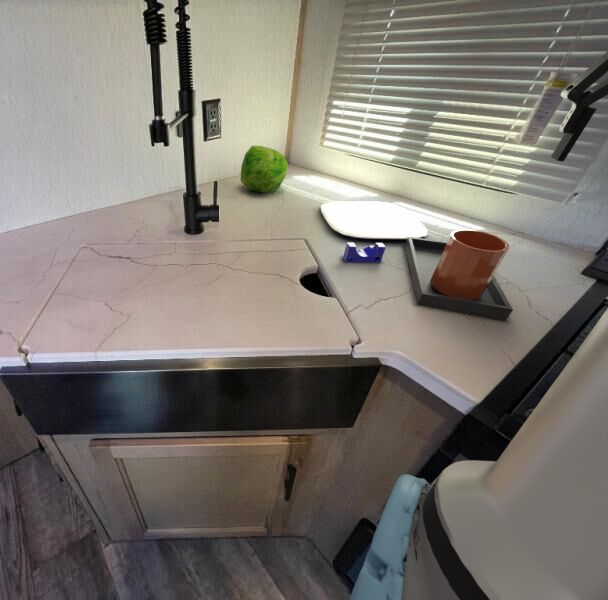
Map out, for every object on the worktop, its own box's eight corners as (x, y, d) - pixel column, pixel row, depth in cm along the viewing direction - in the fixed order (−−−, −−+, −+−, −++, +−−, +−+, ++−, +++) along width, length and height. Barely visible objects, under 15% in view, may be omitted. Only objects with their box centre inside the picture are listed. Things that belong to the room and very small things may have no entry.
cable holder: (374, 255, 83) (379, 239, 81) (380, 262, 80) (385, 247, 78) (341, 254, 83) (345, 239, 81) (345, 262, 80) (349, 246, 78)
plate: (396, 206, 108) (398, 201, 107) (437, 244, 87) (439, 238, 86) (313, 205, 108) (314, 200, 107) (335, 243, 88) (336, 236, 87)
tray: (505, 321, 63) (513, 309, 62) (417, 304, 67) (422, 293, 66) (471, 255, 83) (476, 245, 81) (404, 246, 87) (407, 236, 85)
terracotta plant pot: (491, 299, 67) (522, 249, 61) (450, 304, 66) (477, 253, 60) (456, 275, 75) (480, 227, 68) (419, 279, 73) (440, 231, 67)
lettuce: (277, 180, 128) (292, 144, 118) (275, 209, 114) (292, 170, 104) (239, 169, 128) (251, 131, 118) (232, 196, 114) (245, 156, 104)
